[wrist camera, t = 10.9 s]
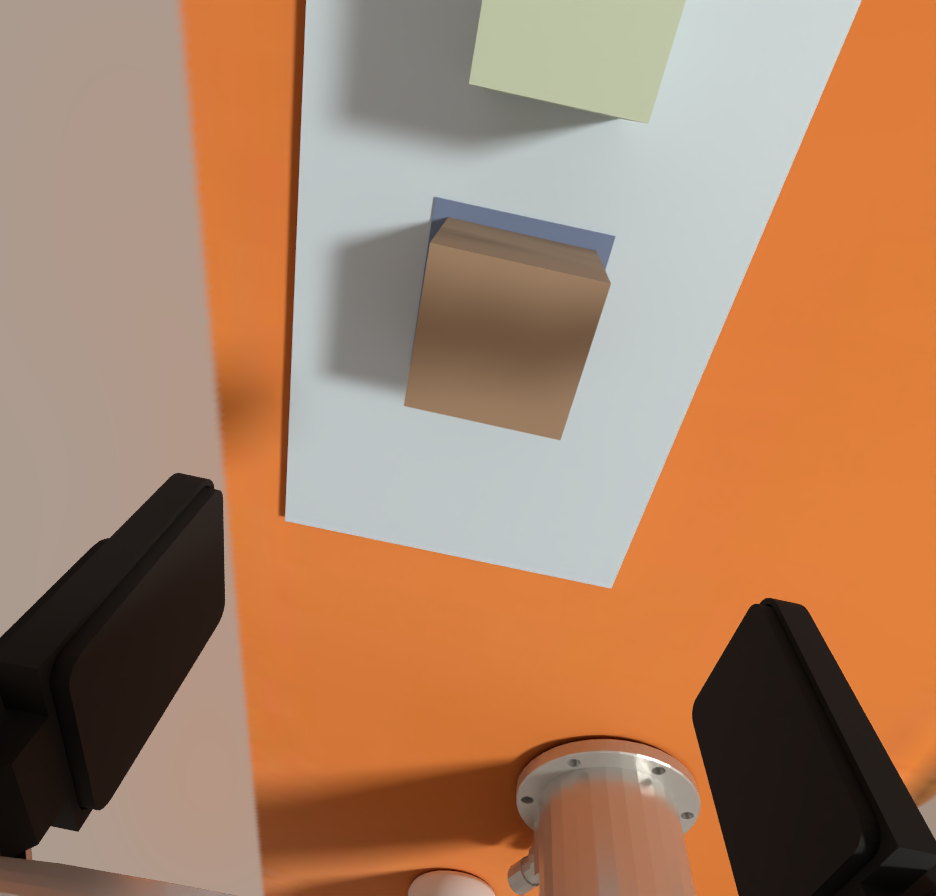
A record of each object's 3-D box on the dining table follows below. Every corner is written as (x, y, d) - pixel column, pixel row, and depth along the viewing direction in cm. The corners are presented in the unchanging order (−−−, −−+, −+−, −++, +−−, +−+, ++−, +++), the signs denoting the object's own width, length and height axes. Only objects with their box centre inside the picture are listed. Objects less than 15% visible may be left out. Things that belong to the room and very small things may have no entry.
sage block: (619, 118, 21) (648, 124, 16) (483, 88, 21) (468, 83, 16) (669, -59, 19) (722, -120, 14) (515, -94, 19) (510, -169, 14)
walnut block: (555, 385, 27) (560, 440, 22) (424, 356, 27) (403, 405, 22) (596, 250, 24) (611, 283, 19) (448, 217, 24) (430, 242, 19)
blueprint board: (609, 580, 33) (611, 589, 32) (288, 514, 33) (284, 521, 32) (883, -70, 19) (894, -75, 18) (320, -199, 18) (313, -209, 18)
